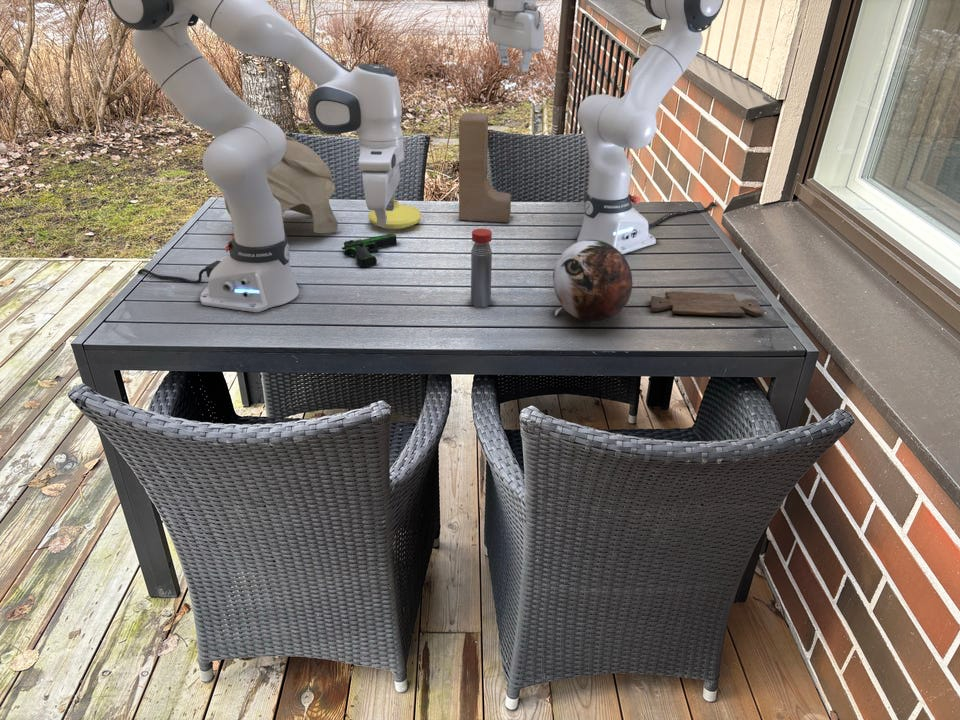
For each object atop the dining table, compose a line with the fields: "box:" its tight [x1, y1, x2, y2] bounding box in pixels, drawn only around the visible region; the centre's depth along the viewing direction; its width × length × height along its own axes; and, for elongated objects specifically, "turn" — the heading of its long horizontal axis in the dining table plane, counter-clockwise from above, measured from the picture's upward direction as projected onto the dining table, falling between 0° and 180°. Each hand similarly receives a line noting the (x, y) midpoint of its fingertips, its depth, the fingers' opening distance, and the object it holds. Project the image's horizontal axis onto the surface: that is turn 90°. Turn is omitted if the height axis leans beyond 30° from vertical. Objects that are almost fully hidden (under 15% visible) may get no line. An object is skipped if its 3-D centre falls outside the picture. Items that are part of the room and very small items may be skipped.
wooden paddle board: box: [650, 291, 765, 317], centre depth 167 cm, size 26×2×10 cm
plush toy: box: [552, 240, 633, 323], centre depth 159 cm, size 22×18×20 cm
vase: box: [367, 199, 423, 230], centre depth 210 cm, size 16×16×7 cm
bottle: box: [470, 242, 493, 309], centre depth 163 cm, size 5×5×17 cm
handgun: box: [341, 233, 398, 268], centre depth 192 cm, size 16×3×15 cm
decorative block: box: [458, 112, 512, 224], centre depth 210 cm, size 8×15×30 cm, turn 82°
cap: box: [471, 228, 493, 243], centre depth 159 cm, size 4×4×2 cm
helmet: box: [223, 135, 339, 234], centre depth 198 cm, size 27×30×30 cm
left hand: (386, 217), depth 151 cm, fingers open, 8 cm apart
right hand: (513, 68), depth 165 cm, fingers open, 8 cm apart
